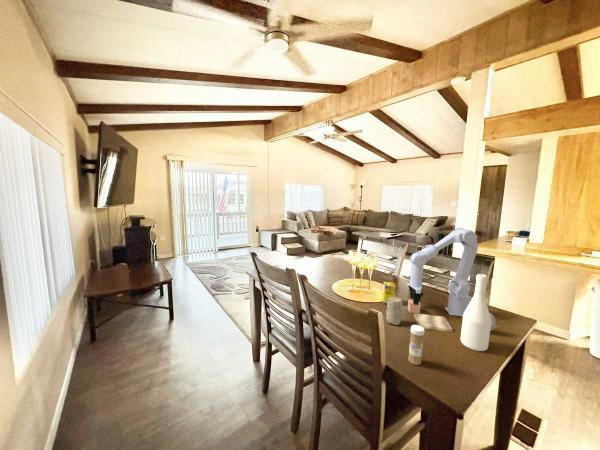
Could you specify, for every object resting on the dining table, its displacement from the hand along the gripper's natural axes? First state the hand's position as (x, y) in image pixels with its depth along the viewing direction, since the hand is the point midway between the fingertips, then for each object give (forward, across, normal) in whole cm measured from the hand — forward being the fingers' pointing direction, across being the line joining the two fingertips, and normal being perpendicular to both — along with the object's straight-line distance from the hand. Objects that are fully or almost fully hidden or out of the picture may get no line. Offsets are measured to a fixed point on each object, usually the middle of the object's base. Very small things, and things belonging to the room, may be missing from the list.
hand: (414, 301), depth 137 cm
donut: (+5, +14, +26) cm, 30 cm away
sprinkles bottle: (+5, +44, -8) cm, 45 cm away
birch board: (+5, +12, +6) cm, 14 cm away
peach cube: (+5, 0, 0) cm, 5 cm away
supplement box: (+5, -7, -12) cm, 15 cm away
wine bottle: (+5, +27, +18) cm, 33 cm away
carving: (+5, +16, -12) cm, 21 cm away
